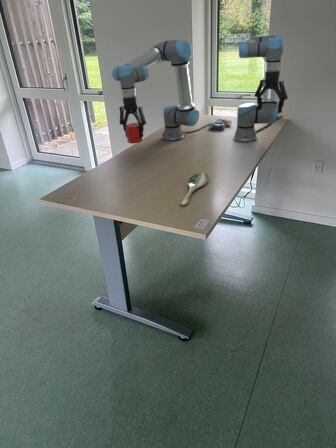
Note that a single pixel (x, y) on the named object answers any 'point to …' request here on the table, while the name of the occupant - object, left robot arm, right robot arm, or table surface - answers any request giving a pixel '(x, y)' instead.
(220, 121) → the spray gun
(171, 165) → the table surface
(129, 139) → the canister
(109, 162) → the table surface
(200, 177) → the spoon
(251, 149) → the table surface
